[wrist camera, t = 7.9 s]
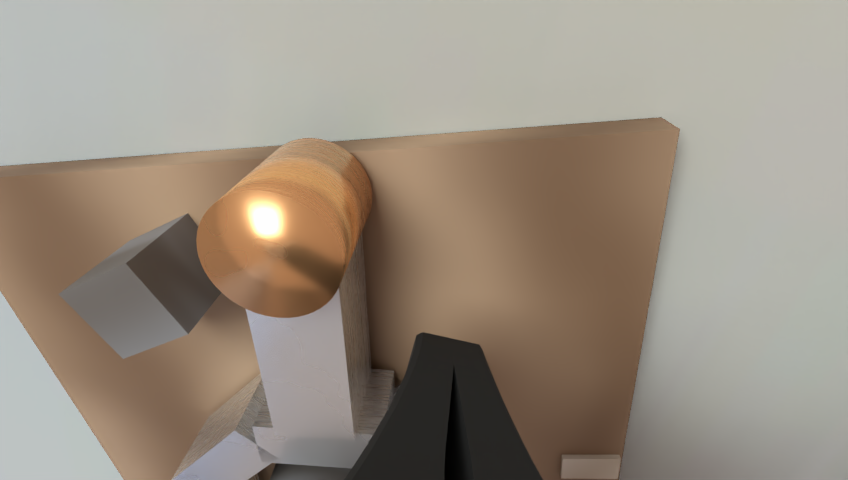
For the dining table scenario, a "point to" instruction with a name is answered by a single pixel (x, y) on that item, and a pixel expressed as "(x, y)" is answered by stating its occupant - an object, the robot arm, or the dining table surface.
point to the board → (384, 274)
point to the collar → (294, 316)
